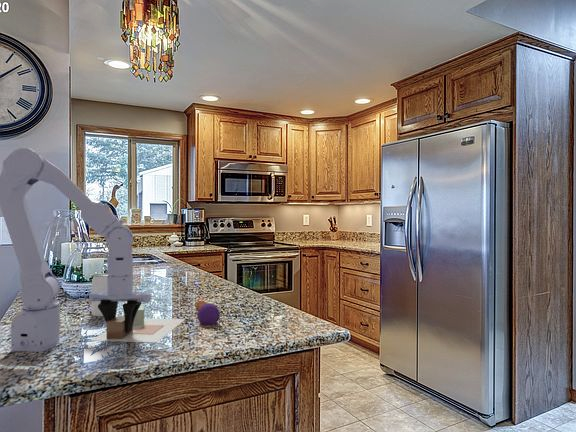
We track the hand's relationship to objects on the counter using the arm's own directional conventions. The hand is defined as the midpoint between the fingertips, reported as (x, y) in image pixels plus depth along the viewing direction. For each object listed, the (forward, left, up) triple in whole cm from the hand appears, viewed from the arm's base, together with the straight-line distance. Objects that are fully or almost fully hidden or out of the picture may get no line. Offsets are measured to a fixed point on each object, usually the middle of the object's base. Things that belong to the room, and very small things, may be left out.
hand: (120, 331), depth 98 cm
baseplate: (+6, -3, -2) cm, 6 cm away
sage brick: (+11, +1, -1) cm, 11 cm away
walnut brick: (0, 0, -1) cm, 1 cm away
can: (+20, +15, -2) cm, 25 cm away
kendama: (+19, -16, -2) cm, 25 cm away
